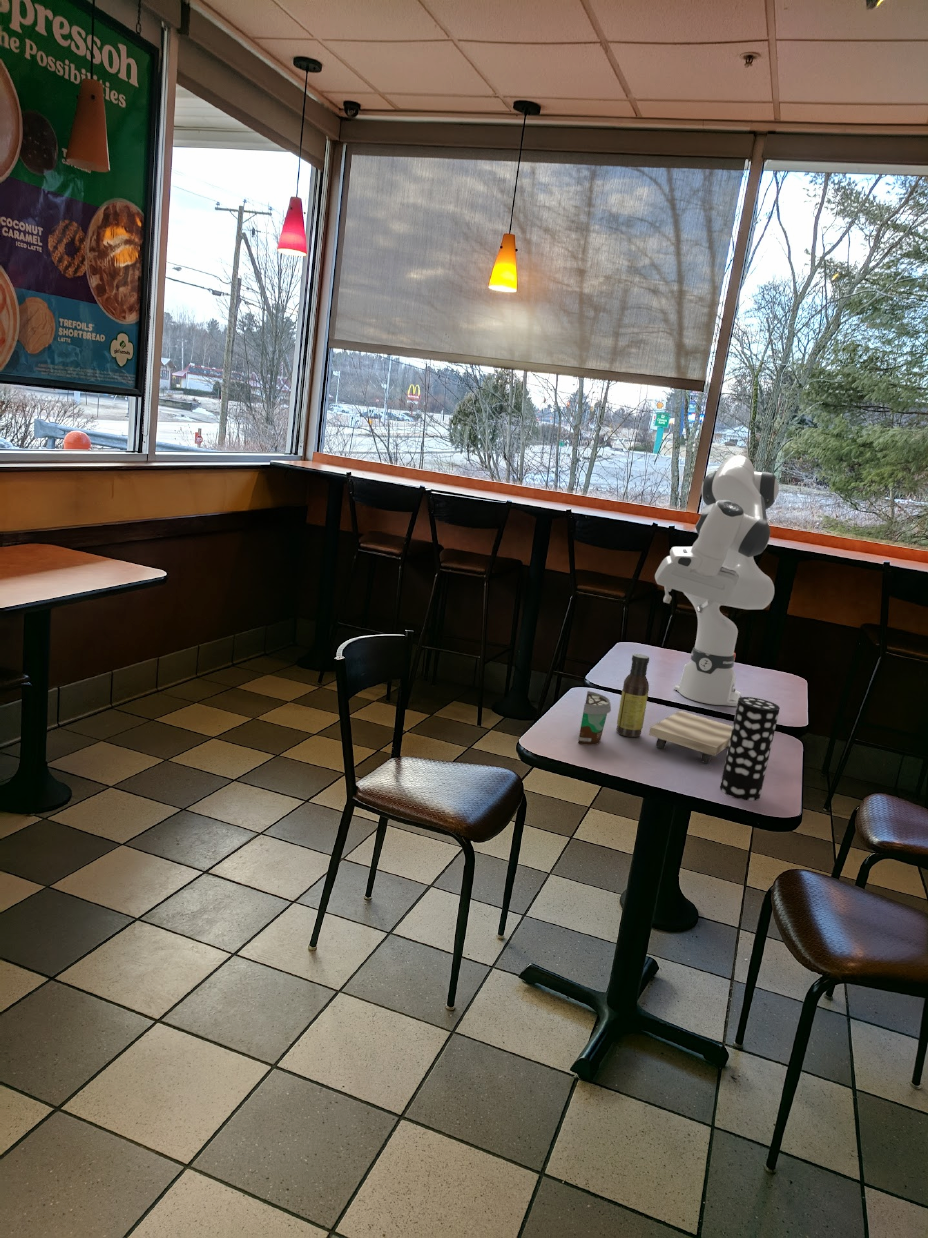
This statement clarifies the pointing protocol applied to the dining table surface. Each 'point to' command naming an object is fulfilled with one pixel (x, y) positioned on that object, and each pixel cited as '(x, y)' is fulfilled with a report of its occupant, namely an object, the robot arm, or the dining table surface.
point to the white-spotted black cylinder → (749, 748)
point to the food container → (593, 718)
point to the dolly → (693, 733)
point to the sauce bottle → (634, 698)
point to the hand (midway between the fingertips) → (682, 607)
